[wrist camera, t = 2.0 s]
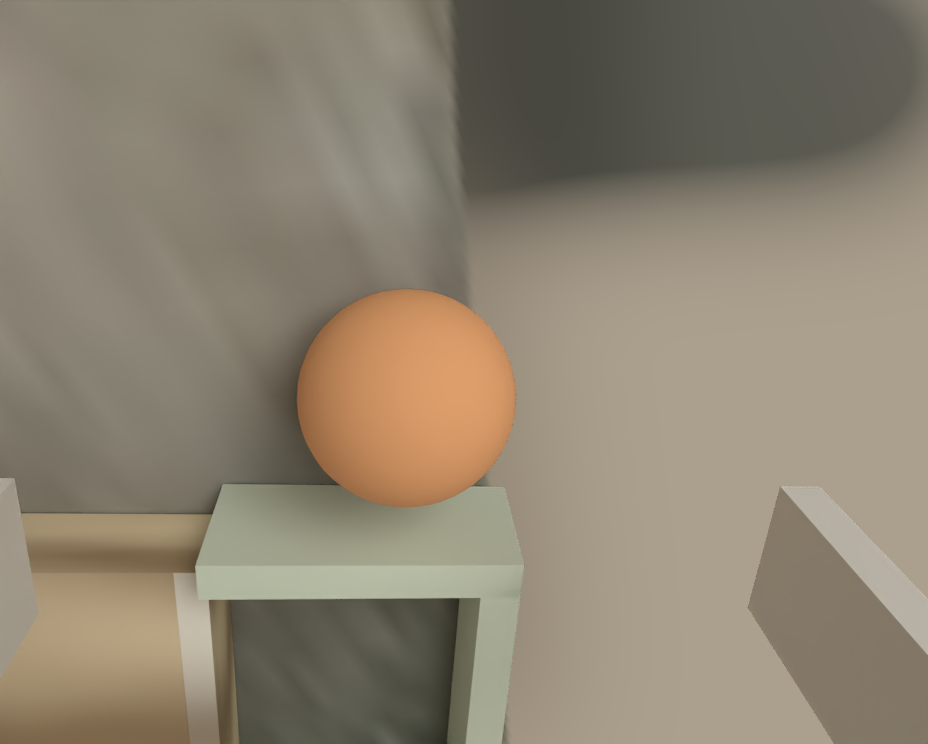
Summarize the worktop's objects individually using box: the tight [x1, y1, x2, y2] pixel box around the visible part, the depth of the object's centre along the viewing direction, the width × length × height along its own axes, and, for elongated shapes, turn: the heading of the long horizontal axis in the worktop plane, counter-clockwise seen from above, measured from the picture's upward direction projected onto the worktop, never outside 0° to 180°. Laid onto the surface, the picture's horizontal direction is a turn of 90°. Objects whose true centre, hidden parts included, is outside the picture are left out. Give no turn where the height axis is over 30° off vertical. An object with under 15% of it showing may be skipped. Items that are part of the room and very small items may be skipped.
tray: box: [195, 484, 524, 744], centre depth 23 cm, size 12×8×4 cm, turn 176°
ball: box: [297, 289, 516, 507], centre depth 18 cm, size 5×5×5 cm
